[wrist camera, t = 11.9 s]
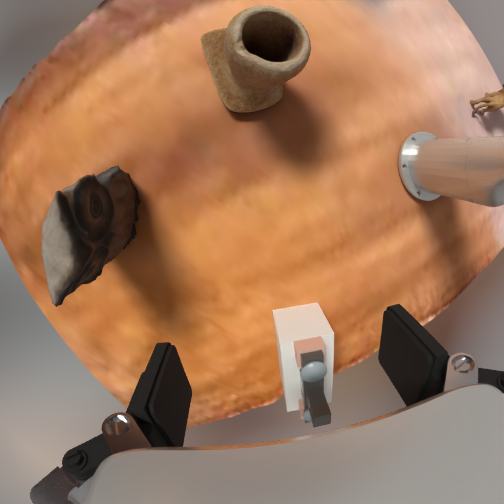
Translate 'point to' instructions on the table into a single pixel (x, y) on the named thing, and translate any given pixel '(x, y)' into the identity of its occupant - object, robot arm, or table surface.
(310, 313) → the white toy brick
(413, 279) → the table surface
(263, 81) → the stone cup
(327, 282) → the table surface
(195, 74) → the table surface
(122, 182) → the owl
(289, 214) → the table surface
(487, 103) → the lion figurine
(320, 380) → the bar with two balls
